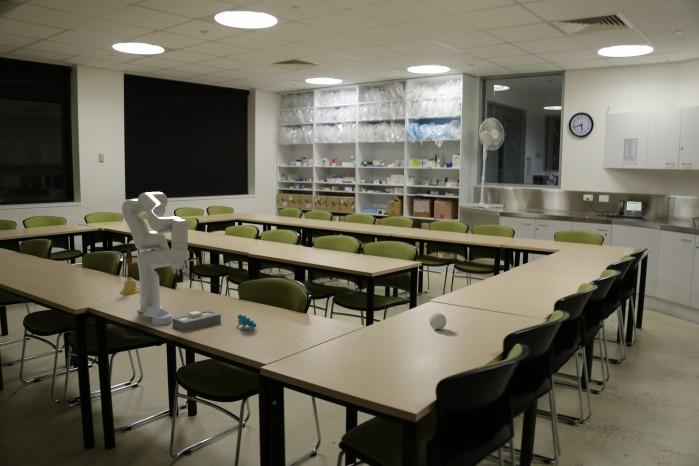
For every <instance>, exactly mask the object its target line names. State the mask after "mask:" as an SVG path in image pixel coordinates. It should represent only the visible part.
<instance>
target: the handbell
mask: <svg viewBox="0 0 699 466" xmlns="http://www.w3.org/2000/svg"><path fill="white" fill-rule="evenodd" d="M125 261H126V264H127V265H126V266H127V279H125V280H124V282H123V288H122V289H121V290H120V291H119V294H120V295H136V294H140V288H138V286H137V281H136V279H134V278H133V277H132V276H133V273H132V272H133V271H132V268H133V267H132V264H133V254H132V251H131V250H126V255H125Z"/></svg>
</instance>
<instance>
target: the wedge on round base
mask: <svg viewBox="0 0 699 466" xmlns="http://www.w3.org/2000/svg"><path fill="white" fill-rule="evenodd" d="M172 315H173V314H172V313H169V312H167V311H166V310H164V308H163V309H160V308H155V307H149V308H148V309H147V310H146V311H145V313H142V316H145V317H148V318H149V317H150V318H151V323H152V324H153V325H156V326H162V325H167V324H168V325H169V324H171V323H173V321H172V318H173V317H172Z"/></svg>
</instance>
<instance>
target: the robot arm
mask: <svg viewBox="0 0 699 466" xmlns="http://www.w3.org/2000/svg"><path fill="white" fill-rule="evenodd" d="M168 203H169V201H168V197H167V195H166V194H165V193H164V192H161V191H151V192H148V191H147V192H142V193H140V194H139V195H138V197H137V198H130V199H127V200H125V201H124V202H123V203H122V206H121V214H122V216H123V219H124V220H125V222H126V224H127V226H128V228H129V231H130V235H131V236H132V239H133V243H134V246H135V248H136V249H138V250H139V251H141V252H139V253H138V254H137V257H136V264H137V267H138V274H139V289H140V293H139V298H140V301H139V304H140V307H138V308H137V312H138V313H139V314H141V313H142V314H144V313H145V311H146V310H147V309H148V308H149V307H155V308H160V309H163V310H164V307H163V306H162V305H161V301H160V300H161V299H160V297H161V296H160V294H161V293H160V276H159V274H158V272H157V271H156V270H155V269H159V268H160V269H161V268H166V267H170V268H172V269H173V270H174V274H175V283H177V284H180V283H184V274H185V273H186V272H187V269H188V268H189V251H188V248H189V245H188V243H189V242H188V241H189V235H188V234H189V223H188V220H187V219H184V218H182V217H180V216H164V215H165V214H166V207H167V206H168ZM141 215H143V216H145V215H147V223H148V225H149V227H150V228H151V230H152V231H151V230H149V228H148V226H147V223H146V221H145V220H143V218H141V217H140V216H141ZM167 233H171V235H170V236H171V237H170V238H171V239H170V241H171V243H170V245H171V246H169V244H168V241H167V238H166V235H165V234H167Z"/></svg>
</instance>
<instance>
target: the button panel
mask: <svg viewBox="0 0 699 466" xmlns="http://www.w3.org/2000/svg"><path fill="white" fill-rule="evenodd" d="M200 312H201V313H207V312H208V313H211V314H208V315H203V314H202V316H199V317H195V318H193V317H190V316H189V314H186V315H182V316H176V317H172V327H173V328H176V329H177V330H180V331H183V332H186V331H191V330H195V329H199V328H204V327H207V326H212V325H216V324H220V323H222V318H221V317H222V314H220V313H218V312H214V311H211V310H205V311H200ZM184 317H186V318H189V319H186V320H179V318H184Z"/></svg>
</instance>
